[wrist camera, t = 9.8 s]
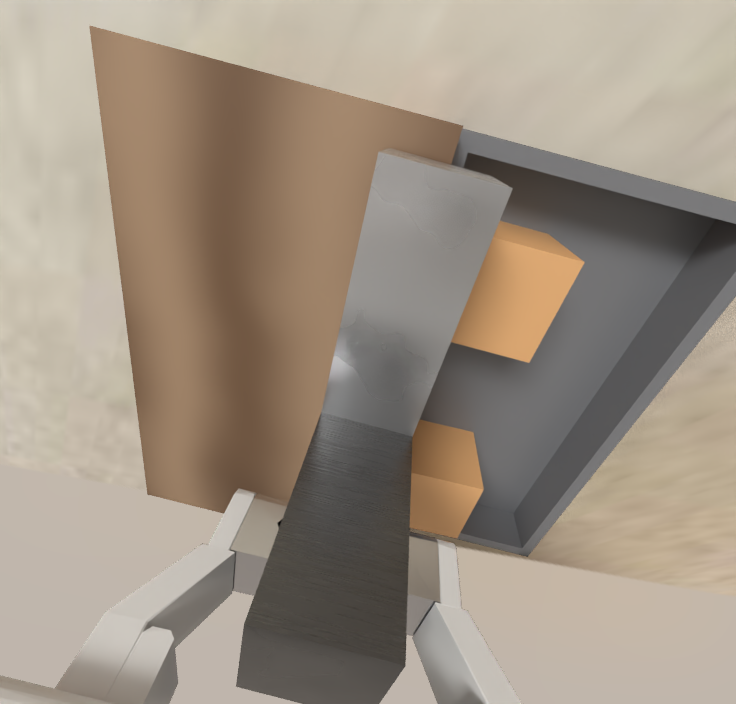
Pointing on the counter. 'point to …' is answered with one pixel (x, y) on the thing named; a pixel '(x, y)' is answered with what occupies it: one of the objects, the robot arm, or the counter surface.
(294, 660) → the grey stick with cube
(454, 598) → the robot arm
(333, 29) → the counter surface
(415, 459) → the block
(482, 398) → the tray
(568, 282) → the block
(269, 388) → the ledge
